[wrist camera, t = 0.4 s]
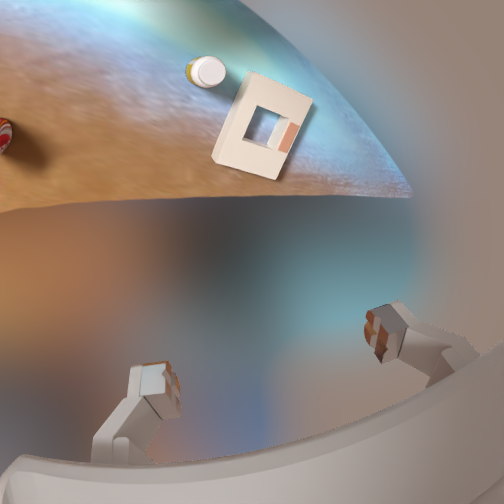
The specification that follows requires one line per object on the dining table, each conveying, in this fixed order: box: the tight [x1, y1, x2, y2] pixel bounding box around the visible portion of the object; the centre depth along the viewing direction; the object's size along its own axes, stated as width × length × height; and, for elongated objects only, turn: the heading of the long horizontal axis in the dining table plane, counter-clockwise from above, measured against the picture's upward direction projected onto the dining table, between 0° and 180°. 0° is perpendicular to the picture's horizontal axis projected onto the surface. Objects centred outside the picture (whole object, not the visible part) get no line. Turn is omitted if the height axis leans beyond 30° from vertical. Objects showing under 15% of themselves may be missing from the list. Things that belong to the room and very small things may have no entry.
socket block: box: [211, 71, 313, 180], centre depth 52 cm, size 18×13×4 cm
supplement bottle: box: [185, 56, 226, 88], centre depth 40 cm, size 5×5×10 cm
